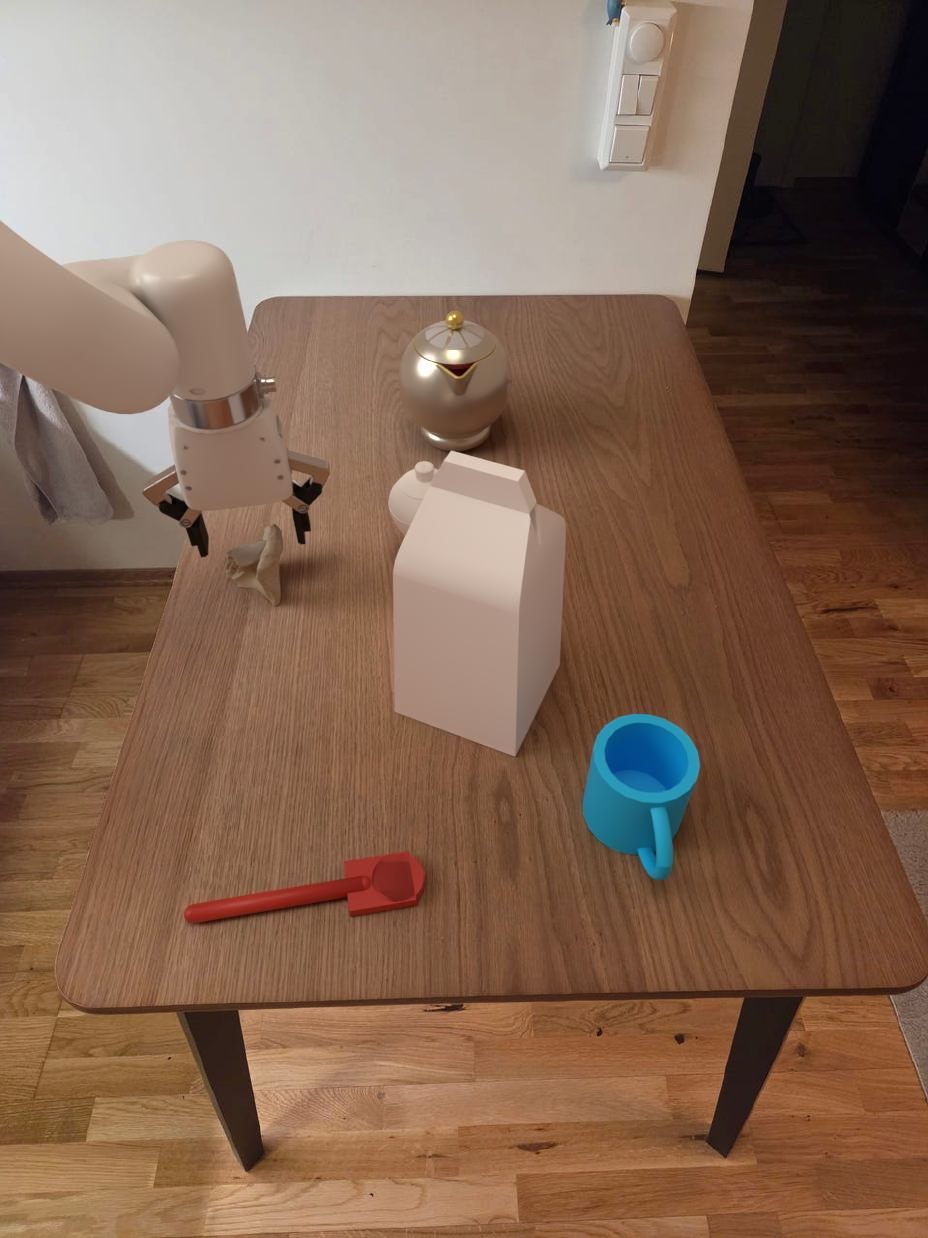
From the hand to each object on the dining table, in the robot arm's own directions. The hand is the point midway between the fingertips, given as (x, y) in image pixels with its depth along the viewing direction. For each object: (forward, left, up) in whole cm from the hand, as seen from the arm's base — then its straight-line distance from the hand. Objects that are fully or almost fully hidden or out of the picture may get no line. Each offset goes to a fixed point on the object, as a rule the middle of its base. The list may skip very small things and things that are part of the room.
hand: (253, 541), depth 87 cm
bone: (0, 0, -6) cm, 6 cm away
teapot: (+25, +24, -6) cm, 35 cm away
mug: (+30, -35, -6) cm, 46 cm away
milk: (+20, -18, -6) cm, 27 cm away
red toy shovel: (+2, -36, -6) cm, 37 cm away
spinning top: (+18, +1, -6) cm, 19 cm away
